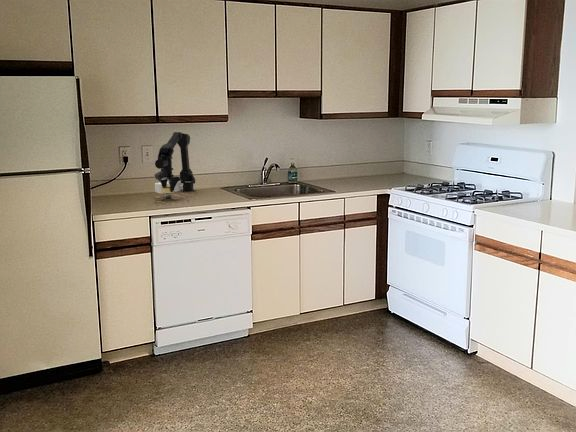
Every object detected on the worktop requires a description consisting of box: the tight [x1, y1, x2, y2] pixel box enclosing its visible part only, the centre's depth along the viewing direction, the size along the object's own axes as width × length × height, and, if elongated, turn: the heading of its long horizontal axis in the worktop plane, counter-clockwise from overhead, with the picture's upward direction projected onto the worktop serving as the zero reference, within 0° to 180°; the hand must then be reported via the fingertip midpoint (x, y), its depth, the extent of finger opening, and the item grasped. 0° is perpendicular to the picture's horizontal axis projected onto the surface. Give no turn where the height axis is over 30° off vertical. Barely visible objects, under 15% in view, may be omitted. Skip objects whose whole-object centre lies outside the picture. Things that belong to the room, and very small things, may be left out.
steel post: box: [164, 193, 172, 200], centre depth 365 cm, size 4×4×5 cm
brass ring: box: [162, 187, 175, 194], centre depth 364 cm, size 7×7×3 cm
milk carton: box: [154, 180, 183, 194], centre depth 391 cm, size 7×7×19 cm
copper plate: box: [156, 192, 194, 201], centre depth 372 cm, size 20×16×1 cm
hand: (168, 191), depth 364 cm, fingers closed on brass ring, 7 cm apart
